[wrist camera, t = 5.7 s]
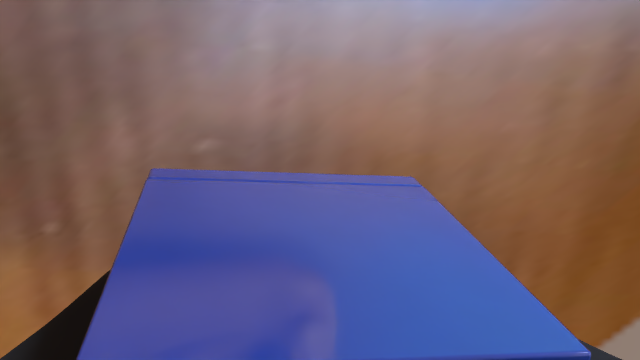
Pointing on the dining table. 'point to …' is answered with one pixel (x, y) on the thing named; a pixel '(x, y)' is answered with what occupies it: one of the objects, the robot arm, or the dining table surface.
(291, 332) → the box
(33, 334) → the robot arm
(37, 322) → the dining table surface
